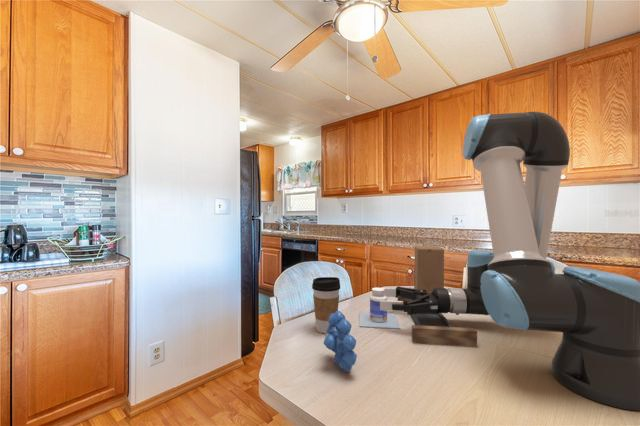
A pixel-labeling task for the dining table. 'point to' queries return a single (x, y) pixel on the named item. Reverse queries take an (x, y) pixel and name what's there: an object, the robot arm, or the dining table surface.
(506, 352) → the dining table surface
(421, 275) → the wooden block
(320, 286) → the coffee cup
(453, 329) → the walnut lane walls
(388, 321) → the pad
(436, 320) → the tray
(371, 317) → the pill bottle
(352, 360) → the grapes
